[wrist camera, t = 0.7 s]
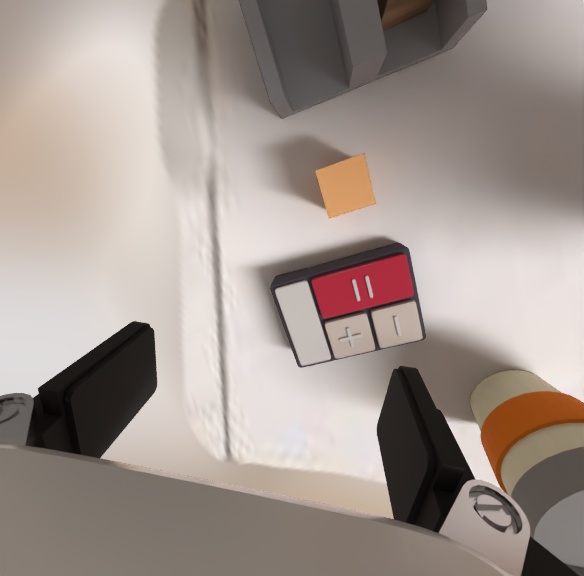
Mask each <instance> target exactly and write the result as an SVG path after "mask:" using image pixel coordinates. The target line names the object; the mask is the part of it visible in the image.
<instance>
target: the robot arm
mask: <svg viewBox="0 0 584 576" xmlns="http://www.w3.org/2000/svg"><path fill="white" fill-rule="evenodd" d="M154 339H155V338H154V330H153V328H151V327H150V325H149V324H147V323H141V322H135V321H134V322H131V323H130V324H128V325H127V326H125V327H124V328H123V329H121V330H120V331H118V332H117V333H115V334H114V335H113V336H111V337H110V338H108V339H107V340H106V341H104V342H103V343H101V344H100V345H99V346H97V347H96V348H94V349H93V350H91V351H90V352H89V353H87V354H86V355H84V356H83V357H81V358H80V359H79V360H77V361H76V362H74V363H73V364H72V365H70V366H69V367H67V368H66V369H65V370H63V371H62V372H60V373H59V374H57V375H56V376H55V377H53V378H52V379H50V380H49V381H47V382H46V383H45V384H43V385H42V386H40V387H39V388H38V391H39V394H38V395H37V396H35V397H34V398H32V397H31V396H30V395H27V394H24V393H13V394H6V395H2V396H0V576H580V575H578V574H577V573H576V572H574V571H573V570H572V569H571V568H569V567H568V566H567V565H566V564H564V563H563V562H562V561H561V560H559V559H558V558H557V557H556V556H554V555H553V554H552V553H551V552H549V551H548V550H547V549H546V548H544V547H543V546H542V545H541V544H539V543H538V542H537V541H536V540H534V539H533V538H532V537H531V536H530V525H529V522H528V519H527V517H526V515H525V514H524V512H523V511H522V509H521V508H520V506H519V505H518V504H517V503H516V502H515V501H514V500H513V499H512V498H511V497H510V496H509V495H508V494H506V493H505V492H504V491H503V490H501V489H500V488H498V487H496V486H494V485H493V484H491V483H488V482H485V481H482V480H475V478H474V476H473V474H472V472H471V470H470V468H469V466H468V464H467V462H466V460H465V458H464V456H463V454H462V452H461V450H460V448H459V446H458V444H457V442H456V440H455V438H454V436H453V434H452V432H451V430H450V428H449V426H448V424H447V422H446V420H445V418H444V416H443V414H442V412H441V411H440V410H438V409H436V407H435V405H434V402H433V400H432V398H431V396H430V394H429V392H428V390H427V388H426V386H425V384H424V382H423V380H422V378H421V376H420V374H419V372H418V370H417V369H416V368H411V367H405V366H400V367H399V368H398V369H394V370H393V372H392V376H391V379H390V383H389V386H388V390H387V393H386V396H385V400H384V403H383V407H382V410H381V413H380V417H379V420H378V424H377V436H378V441H379V446H380V451H381V456H382V461H383V466H384V471H385V476H386V481H387V486H388V491H389V496H390V502H391V506H392V511H393V516H394V519H390V518H386V517H381V516H377V515H372V514H368V513H364V512H359V511H355V510H350V509H346V508H341V507H337V506H332V505H327V504H323V503H318V502H313V501H308V500H303V499H299V498H294V497H289V496H284V495H280V494H274V493H270V492H265V491H260V490H256V489H251V488H246V487H241V486H236V485H231V484H225V483H221V482H216V481H211V480H206V479H201V478H196V477H191V476H186V475H181V474H176V473H171V472H166V471H162V470H156V469H151V468H146V467H141V466H136V465H131V464H126V463H121V462H116V461H110V460H105V459H100V458H101V456H102V455H103V454H104V453H105V451H106V450H107V449H108V448H109V447H110V445H111V444H112V443H113V442H114V441H115V439H116V438H117V437H118V436H119V435H120V433H121V432H122V431H123V430H124V429H125V427H126V426H127V425H128V424H129V423H130V421H131V420H132V419H133V418H134V416H135V415H136V414H137V413H138V412H139V410H140V409H141V408H142V407H143V406H144V404H145V403H146V402H147V401H148V400H149V398H150V397H151V396H152V395H153V394H154V392H155V390H156V387H157V372H156V355H155V340H154Z"/></svg>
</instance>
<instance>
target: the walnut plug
mask: <svg viewBox="0 0 584 576" xmlns="http://www.w3.org/2000/svg"><path fill="white" fill-rule="evenodd" d="M432 1H433V0H377V2H378V7H379V13H380V18H381V23H382V28H383V31H385V30H387V29H389V28H391V27H393V26H396V25H398V24H400V23H402V22H405V21H407V20H409V19H411V18H414V17H416V16H418V15H420V14H422V13H425V12H426V11H427V10H428V8H429V6H430V4H431V3H432Z"/></svg>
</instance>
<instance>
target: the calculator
mask: <svg viewBox="0 0 584 576" xmlns="http://www.w3.org/2000/svg"><path fill="white" fill-rule="evenodd" d="M271 292H272V295H273V297H274V300H275V303H276V306H277V309H278V311H279V314H280V317H281V320H282V323H283V325H284V328H285V331H286V334H287V337H288V339H289V342H290V345H291V348H292V351H293V353H294V356H295V359H296V362H297V364H298V366H299V367H307V366H311V365H316V364H320V363H324V362H329V361H333V360H337V359H342V358H346V357H351V356H355V355H359V354H364V353H368V352H372V351H377V350H381V349H386V348H390V347H394V346H399V345H403V344H408V343H412V342H416V341H421V340H424V339H425V337H426V334H425V329H424V324H423V318H422V313H421V308H420V303H419V298H418V293H417V288H416V282H415V277H414V272H413V267H412V262H411V257H410V252H409V249H408V248H407V247H405V246H404V245H402V244H401V243H395V244H392V245H388V246H385V247H381V248H377V249H374V250H370V251H366V252H363V253H359V254H355V255H352V256H348V257H345V258H341V259H338V260H334V261H331V262H328V263H324V264H321V265H317V266H314V267H310V268H304V269H300V270H297V271H293V272H289V273H286V274H282V275H279V276H276V277H275V278H274V280H273V282H272V285H271Z"/></svg>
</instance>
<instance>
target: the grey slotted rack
mask: <svg viewBox="0 0 584 576" xmlns="http://www.w3.org/2000/svg"><path fill="white" fill-rule="evenodd" d="M239 2H240V5H241V9H242V12H243V15H244V18H245V22H246V25H247V28H248V31H249V34H250V38H251V41H252V44H253V47H254V51H255V54H256V57H257V60H258V64H259V67H260V70H261V73H262V77H263V80H264V83H265V86H266V90H267V93H268V96H269V99H270V103H271V104H272V106H273V107H274V108H275V110H276V111H277V112H278V114H279V115H280V117H281V118H282V119H283V118H285V117H287V116H290V115H292V114H295V113H297V112H300V111H302V110H304V109H307V108H309V107H312V106H314V105H316V104H319V103H321V102H324V101H326V100H329V99H331V98H333V97H336V96H338V95H341V94H343V93H345V92H348V91H350V90H353V89H355V88H357V87H360V86H362V85H365V84H367V83H370V82H372V81H374V80H377V79H379V78H382V77H384V76H386V75H389V74H391V73H394V72H396V71H399V70H401V69H403V68H406V67H408V66H411V65H413V64H415V63H418V62H420V61H423V60H425V59H428V58H430V57H432V56H435V55H437V54H440V53H442V52H444V51H447V50H449V49H452V48H453V47H454V46H455V45H456V44H457V43H458V41H459V40H460V39H461V38H462V37H463V36H464V35H465V34H466V33H467V31H468V30H469V29H470V28H471V27H472V26H473V25H474V24H475V23H476V21H477V20H478V19H479V18H480V17H481V16H482V15H483V14H484V13H485V11H486V10H487V2H486V0H433V1H432V3H431V4H430V6H429V8H428V10H427V11H426V12H425V13H422V14H420V15H418V16H416V17H414V18H411V19H409V20H407V21H405V22H402V23H400V24H398V25H396V26H393V27H391V28H389V29H387V30H385V31H383V28H382V23H381V18H380V13H379V7H378V2H377V0H239Z"/></svg>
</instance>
